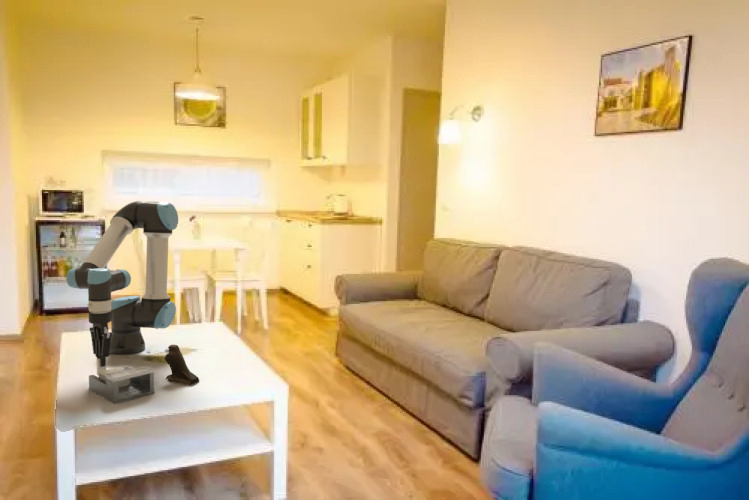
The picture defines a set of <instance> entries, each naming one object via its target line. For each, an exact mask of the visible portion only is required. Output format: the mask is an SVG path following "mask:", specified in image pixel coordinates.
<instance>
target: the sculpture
mask: <svg viewBox="0 0 749 500" xmlns="http://www.w3.org/2000/svg"><path fill="white" fill-rule="evenodd" d="M167 349H168V353H167V354H166V355H165V356H164V361H165V363H166V364H168V366H169V368H170V371H171V374H168V375H166V378H165V380H167V379H168V380H167V382H168V381H169V382H168V383H173V382H174V384H179V385H182V384H183V385H184V386H193V385H195V384H197V383H199V382H200V378H199V377H198V376H197V375H196V374H194V373H193V372H192V371H190V369H189V367H188V366H187V363H186V361H185V358H184V356H183V353H182V351H181V350H180V347H179V345H177V344H169V345H168V347H167Z"/></svg>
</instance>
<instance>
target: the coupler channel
mask: <svg viewBox="0 0 749 500" xmlns="http://www.w3.org/2000/svg"><path fill="white" fill-rule="evenodd" d="M123 369H125V370H124V371H119V372H115V373H110V374H106V381H104V380H102V379H100V378H99V376H98V375H97V376H96V374H95V375H94V374H91V375H88V390H89V391H91V392H93V393H94V394H97V395H98V396H100V397H102V398H103V397H104V398H103V399H105V400H107V401H109V402H110V401H111V402H110V403H113V404H114V405H115V404H119V403H123V402H127V401H130V400H134V399H137V398H140V397H145V396H149V395H153V394H155V369H154V368H153V367H150V366H148V365H141V366H138V367H134V368H131V367H129V366H126V367H123ZM128 378H130V385H127V386H124V387H120V388H119V381H120V380H124V379H128Z"/></svg>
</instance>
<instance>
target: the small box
mask: <svg viewBox="0 0 749 500" xmlns="http://www.w3.org/2000/svg"><path fill="white" fill-rule="evenodd" d="M124 370H125V369H124V368H122V367H121V366H116V367H112V368H108V369H106V370H103V371H99V376H98V377H99V378H100V379H102V380H104V381H106V374H110V373H115V372H119V371H124ZM127 385H130V378H128V379H124V380H120V381H119V388H120V387H124V386H127Z"/></svg>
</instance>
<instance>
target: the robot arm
mask: <svg viewBox="0 0 749 500" xmlns="http://www.w3.org/2000/svg"><path fill="white" fill-rule="evenodd" d="M178 224H179V215H178V211H177V208H176V207H175V206H174V204H172V203H171V202H165V201H145V200H143V201H142V200H137V201H132V202H130V203H128V204H126V205H124V206H123V207H121V208H120V209H119V210H118V211H116V213H115V214H114V215H113V216H112V218H111V219H110V222H109V226H108V227H107V229H106V231H105V232H104V233H103V235H102V236H101V237H100V239H99V240H98V242H96V244H95V246H93V249H92V250H91V251H90V253H88V255H87V257H86V258H85V259H84V261H83V262H82V264H81V265H80V266H79V268H78V267H75V268H74V267H73V268H71V269H69V270H68V272H67V273H66V277H65V278H66V279H65V280H66V283H67V285H68V286H69V287H70V288H72V289H79V290H81V289H84V290H87V291H88V292H87V293H88V294H87V295H88V299H87V300H88V301H87V302H88V303H87V307H88V311H89V313H88V322H89V323H90V324H92V326H91V327H89V332H90V337H91V346H92V353H93V355H95V357H96V375H97V377H99V371H103V370H107V357H110V354H114V355H129V354H136V353H140V352H142V351H144V350H145V349H146V342H145V340H144V336H143V334H142V332H141V331H142V330H141V328H146V329H147V328H148V329H156V330H158V329H167V328H169V327H170V326H171V324H172V323H173V321H174V320H175V315H176V312H177V309H176V307H177V306H176V304H175V303H174V302H173V301H171V296H170V295H169V293H168V265H169V238H170V236H172V235H173V231H174V230H175V229H177V227H178ZM136 229H143V234H144V236H146V261H145V293H144V294H143V295H142V296H141V297H140V295H128V296H121V297H118V298H114V299H113V300H112V293H113V292H117V291H121V290H123V289H126V288H127V287H129V286H130V284H131V281H132V276H131V274H130V272H129V271H128V270H126V269H121V268H120V269H115V270H111V269H109V268H106V266H107V265H108V263H109V262H110V261H111V260H112V258H113V256H114V254H116V252H117V251H118V249H119V247H120V246H121V244H122V243H123V242H124V240H125V238H126V237H127V236H128V235H131V234H132V232H133V231H134V230H136ZM108 323H110V326H111V327H110V330H111V331H110V332H109V324H108Z"/></svg>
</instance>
